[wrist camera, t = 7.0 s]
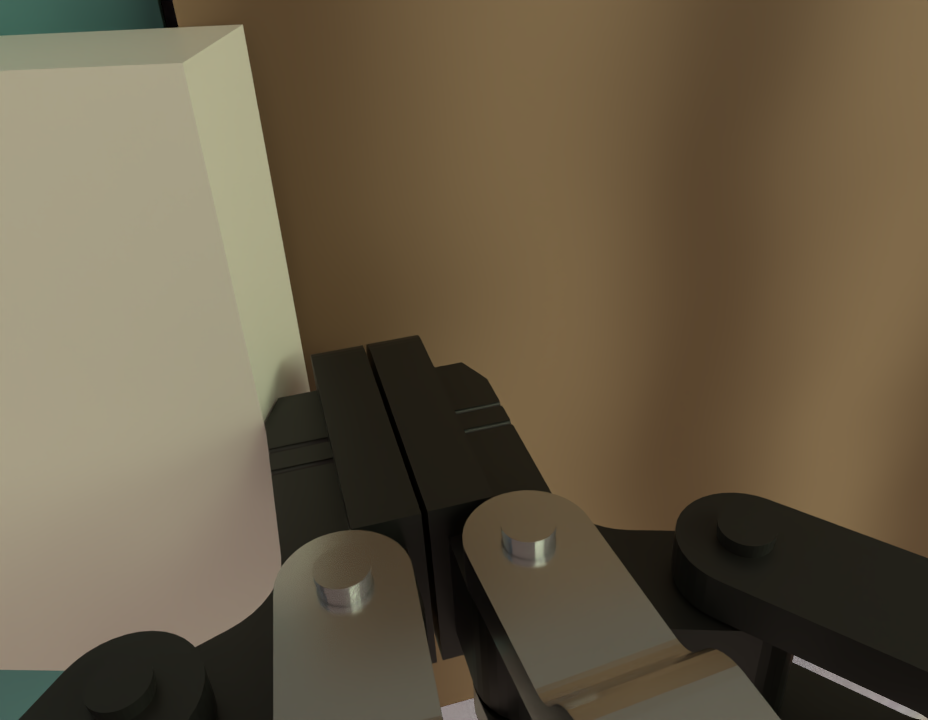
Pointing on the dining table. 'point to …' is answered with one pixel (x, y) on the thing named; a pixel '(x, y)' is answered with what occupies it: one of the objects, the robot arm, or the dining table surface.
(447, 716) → the dining table surface
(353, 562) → the robot arm
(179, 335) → the tile
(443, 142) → the brown wooden board
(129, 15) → the mat
